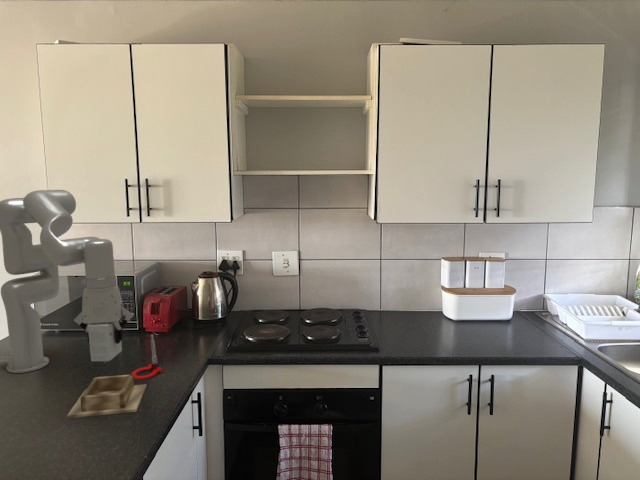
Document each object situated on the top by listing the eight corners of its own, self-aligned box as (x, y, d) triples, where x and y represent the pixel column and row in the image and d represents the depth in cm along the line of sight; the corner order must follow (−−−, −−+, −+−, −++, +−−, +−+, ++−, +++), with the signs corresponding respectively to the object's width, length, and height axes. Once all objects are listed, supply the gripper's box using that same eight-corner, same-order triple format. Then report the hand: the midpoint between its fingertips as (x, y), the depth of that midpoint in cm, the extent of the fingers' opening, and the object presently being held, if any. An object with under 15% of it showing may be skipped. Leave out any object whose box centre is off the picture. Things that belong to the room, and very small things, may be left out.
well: (67, 418, 127) (65, 401, 127) (85, 391, 143) (84, 376, 142) (136, 411, 131) (135, 395, 130) (146, 386, 146) (145, 371, 145)
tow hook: (140, 383, 149) (165, 372, 157) (136, 346, 147) (161, 336, 155) (126, 377, 154) (150, 366, 162) (121, 340, 152) (146, 331, 160)
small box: (104, 351, 139) (101, 317, 137) (122, 351, 138) (119, 317, 137) (90, 361, 131) (87, 325, 129) (109, 361, 131) (106, 325, 129)
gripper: (63, 287, 127) (69, 350, 129) (130, 283, 130) (134, 345, 132) (72, 281, 134) (78, 341, 136) (135, 278, 137) (139, 336, 139)
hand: (105, 342), depth 134 cm, fingers closed on small box, 6 cm apart
